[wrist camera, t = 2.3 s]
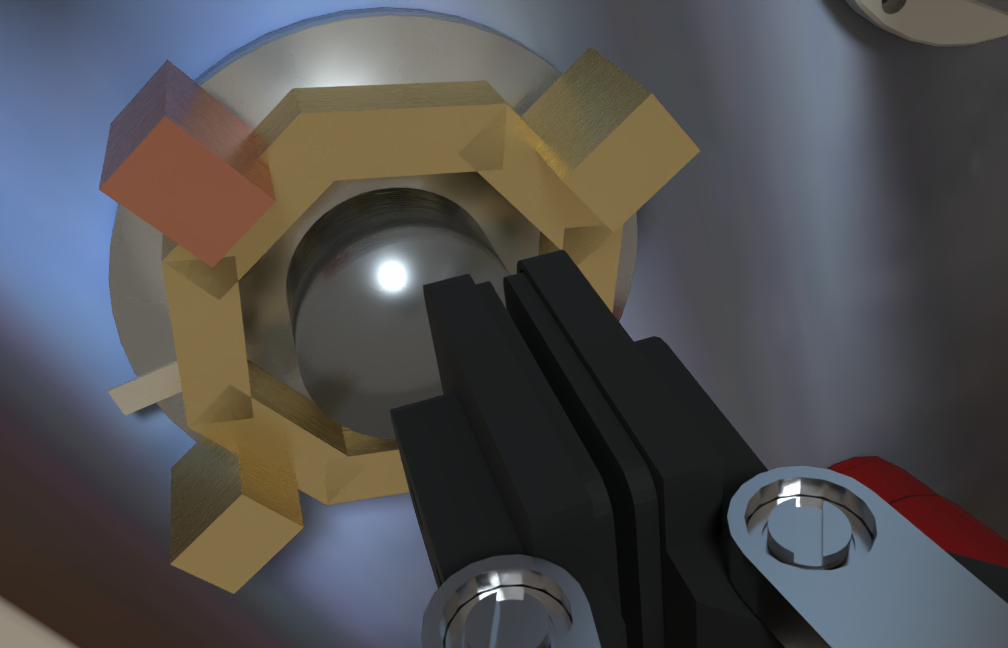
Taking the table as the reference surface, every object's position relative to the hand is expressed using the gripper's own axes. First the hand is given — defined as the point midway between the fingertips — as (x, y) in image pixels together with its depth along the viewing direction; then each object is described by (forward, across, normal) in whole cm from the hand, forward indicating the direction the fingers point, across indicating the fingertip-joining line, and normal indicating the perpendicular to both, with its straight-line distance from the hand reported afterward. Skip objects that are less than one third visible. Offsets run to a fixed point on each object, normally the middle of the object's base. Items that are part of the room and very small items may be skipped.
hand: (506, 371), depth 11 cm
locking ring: (+16, 0, +8) cm, 18 cm away
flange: (+17, 0, +8) cm, 19 cm away
